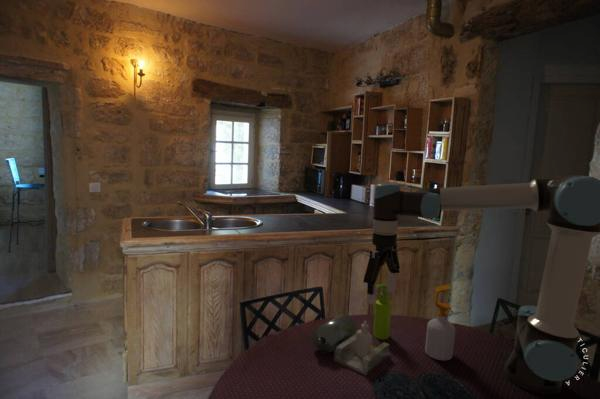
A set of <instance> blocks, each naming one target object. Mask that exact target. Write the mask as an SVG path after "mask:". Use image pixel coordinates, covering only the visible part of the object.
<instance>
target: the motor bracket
mask: <svg viewBox="0 0 600 399" xmlns="http://www.w3.org/2000/svg"><path fill="white" fill-rule="evenodd" d="M356 333H357V327H356V324H355V322H354V319H352V318H351V316H349V315H348V314H342V313H340V314H339V315H337V316H335V317H333V318H331V319H330V320H328V321H326V322H325V323H323V324H321V325H319V326H318V327H315V328H314V329H313V332H312V335H311V336H312V338H311V340H312V343H313V346H314V347H315V348H316V350H317V351H318V352H320V353H321V354H324V355H328V354H330V353H332V352H333V355H332V357H333V361H334V362H336V363H337V364H340V365H342V366H344V367H346V368H348V369H351V370H353V371H354V372H356V373H359V374H361V375H363V376H365V377H366V376H368V375H369V374H370V373H371V372H373V371H374V370H375V369H376V368H377V367H378V366H379V365H380V364H381V363H383V362H384V361H385V360H386V359H387V358H388V357H390V355H391V354H390V344H389V343H387V342H385V341H383V342H382V343H380V344H379V345H377V346H375V345H373V344H372V351H371V352H370V353H369V354H368V355H367V356H365V357H364V358H361V357H360V356H358V355H357V354H356V353H355V344H356Z"/></svg>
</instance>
